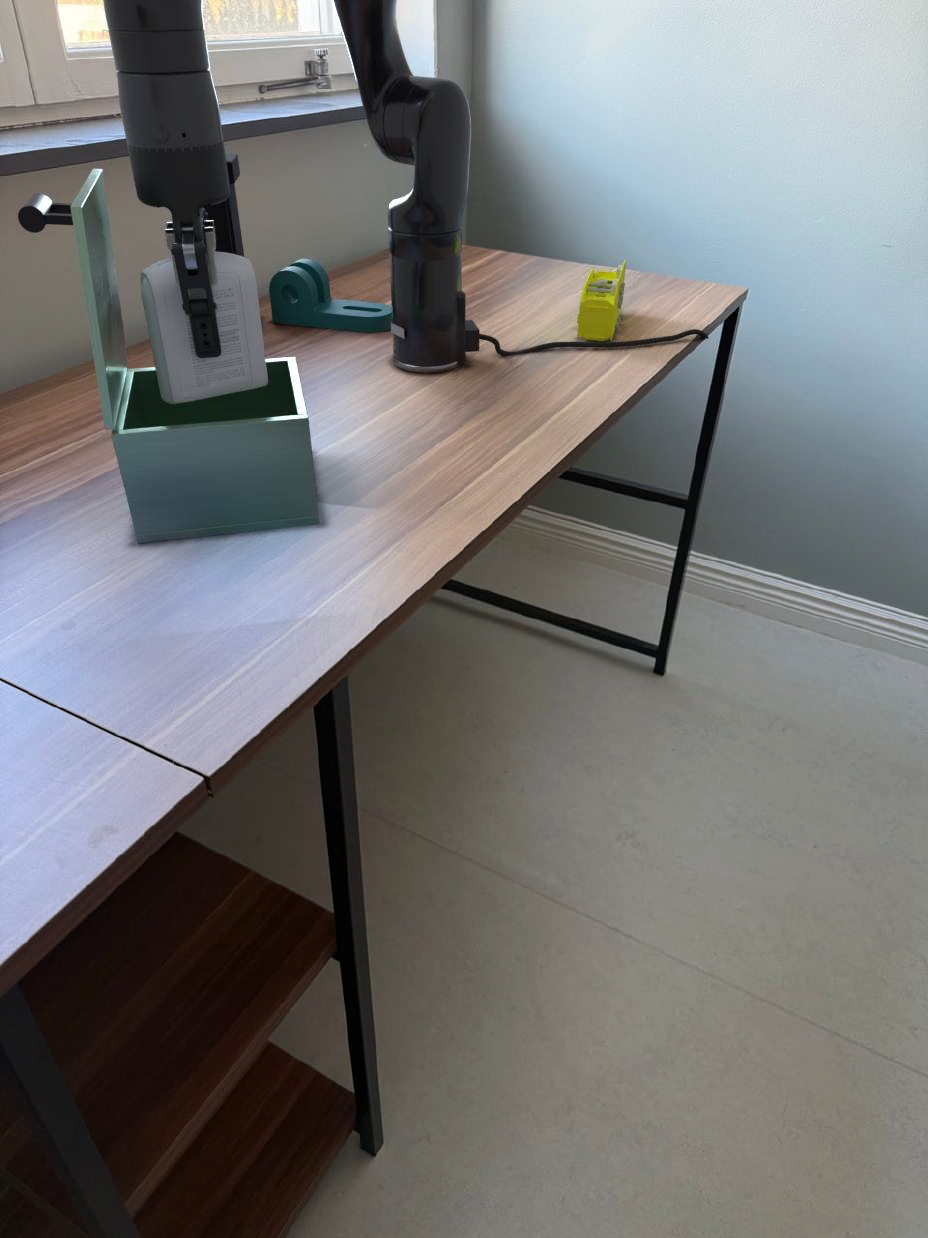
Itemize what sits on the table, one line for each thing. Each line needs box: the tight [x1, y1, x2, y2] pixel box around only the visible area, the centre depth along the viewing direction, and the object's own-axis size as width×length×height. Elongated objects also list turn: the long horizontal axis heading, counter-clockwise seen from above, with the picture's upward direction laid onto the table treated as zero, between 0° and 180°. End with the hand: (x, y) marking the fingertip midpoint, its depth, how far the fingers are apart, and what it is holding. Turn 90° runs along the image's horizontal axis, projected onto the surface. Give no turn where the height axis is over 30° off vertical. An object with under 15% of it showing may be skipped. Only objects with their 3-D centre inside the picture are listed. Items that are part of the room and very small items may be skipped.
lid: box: [17, 168, 129, 431], centre depth 76 cm, size 18×16×6 cm
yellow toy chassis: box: [576, 259, 627, 342], centre depth 130 cm, size 16×6×8 cm, turn 167°
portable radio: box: [202, 152, 246, 258], centre depth 126 cm, size 8×6×25 cm
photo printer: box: [140, 252, 268, 404], centre depth 80 cm, size 10×4×12 cm, turn 123°
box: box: [110, 356, 320, 544], centre depth 87 cm, size 17×16×11 cm
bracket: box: [268, 258, 392, 333], centre depth 132 cm, size 18×7×8 cm, turn 74°
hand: (209, 344), depth 81 cm, fingers closed on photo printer, 5 cm apart
